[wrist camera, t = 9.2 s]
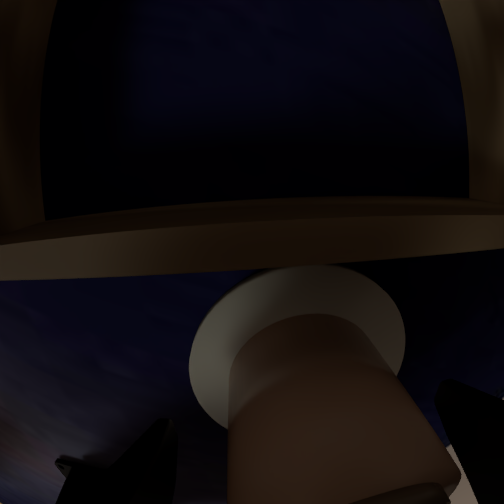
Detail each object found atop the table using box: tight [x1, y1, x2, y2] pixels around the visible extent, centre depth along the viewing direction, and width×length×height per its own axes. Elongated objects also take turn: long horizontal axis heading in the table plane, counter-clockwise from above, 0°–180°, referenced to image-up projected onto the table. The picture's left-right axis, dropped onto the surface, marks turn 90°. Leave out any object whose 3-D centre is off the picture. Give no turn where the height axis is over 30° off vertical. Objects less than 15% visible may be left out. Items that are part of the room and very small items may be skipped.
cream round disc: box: [189, 263, 405, 429], centre depth 11 cm, size 8×8×1 cm
